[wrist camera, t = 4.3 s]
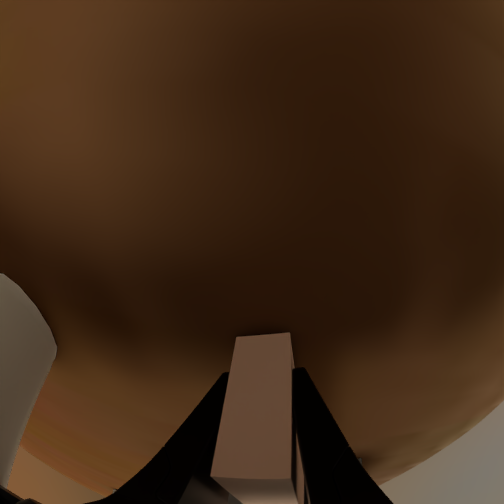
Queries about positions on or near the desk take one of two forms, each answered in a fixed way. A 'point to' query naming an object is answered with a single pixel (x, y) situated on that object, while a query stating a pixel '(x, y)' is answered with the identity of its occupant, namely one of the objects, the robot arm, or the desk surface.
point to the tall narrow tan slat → (260, 425)
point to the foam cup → (20, 367)
